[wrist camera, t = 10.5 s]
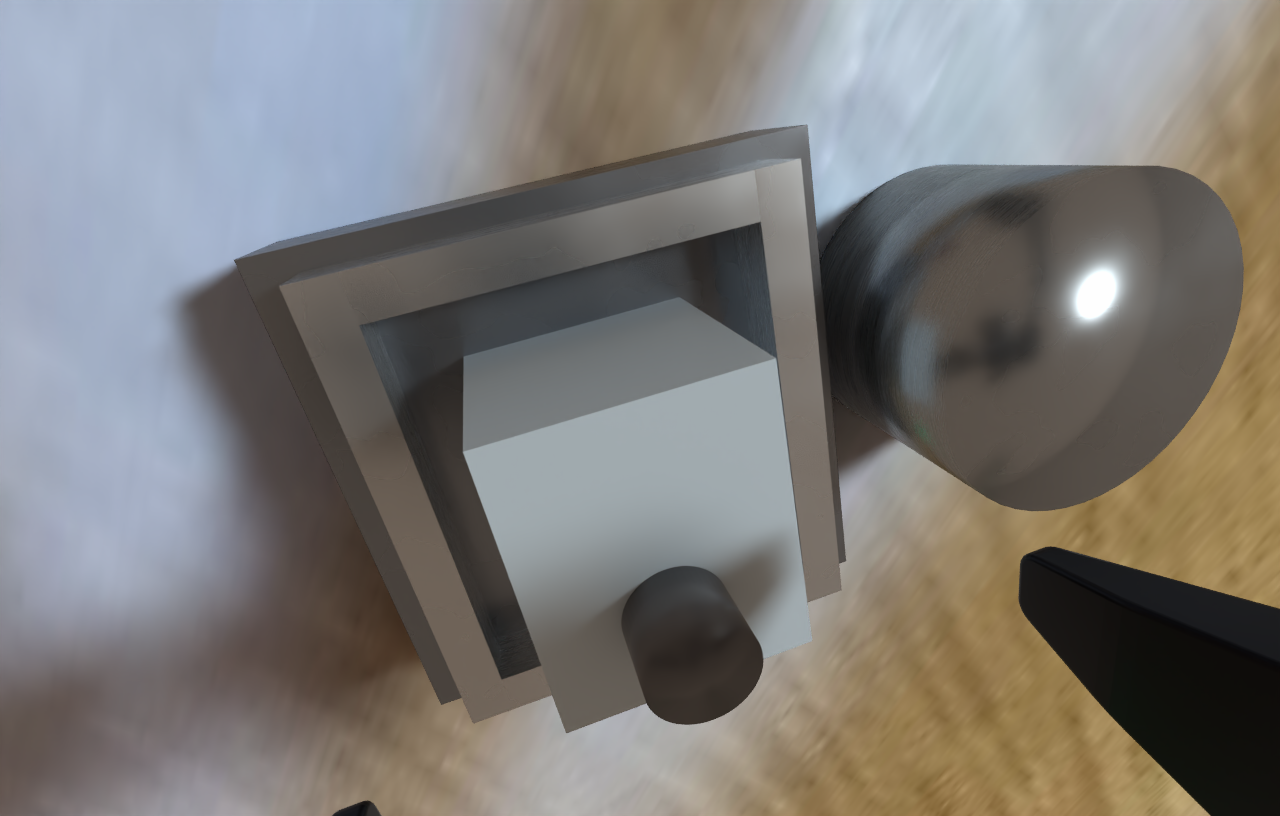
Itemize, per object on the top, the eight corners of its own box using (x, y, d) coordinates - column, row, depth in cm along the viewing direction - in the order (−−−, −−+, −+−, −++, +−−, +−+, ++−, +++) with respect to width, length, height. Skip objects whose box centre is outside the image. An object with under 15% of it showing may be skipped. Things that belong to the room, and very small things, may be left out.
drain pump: (679, 297, 15) (824, 388, 9) (719, 513, 17) (854, 699, 11) (463, 356, 14) (462, 501, 8) (537, 574, 16) (579, 808, 10)
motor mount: (1044, 61, 18) (1294, 19, 12) (1025, 433, 23) (1200, 518, 17) (276, 242, 15) (167, 288, 9) (444, 629, 20) (436, 808, 14)
